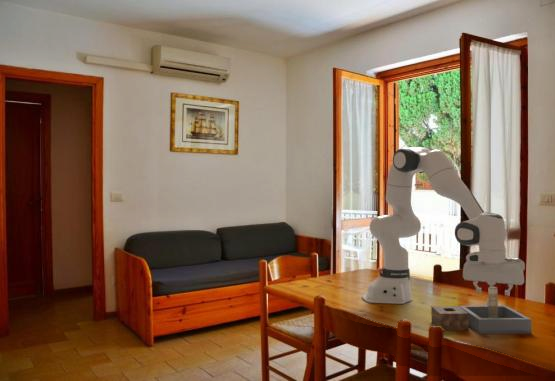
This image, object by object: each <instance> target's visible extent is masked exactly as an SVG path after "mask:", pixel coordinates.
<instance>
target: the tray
mask: <svg viewBox="0 0 555 381" xmlns="http://www.w3.org/2000/svg"><path fill="white" fill-rule="evenodd" d="M458 306H459V307H460V308H461V309H463V310H464V311H466V312H467V313H468V317H469V328H470V329H472V330H473V331H475V332H476V333H478V334H479V335H482V334H483V335H500V334H501V335H503V334H505V335H506V334H507V335H511V334H512V335H513V334H516V335H519V334H520V335H521V334H523V335H524V334H525V335H528V334H529V335H530V334H532V333H533V332H532V331H533V330H532V319H531V318H530V317H528V316H526V315H524V314H523V313H521V312H520V311H519V312H518V311H517V310H515V309H514V308H511V307H509V306H508V305H506V304H505V305H498V318H489V306H486V305H458Z"/></svg>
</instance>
